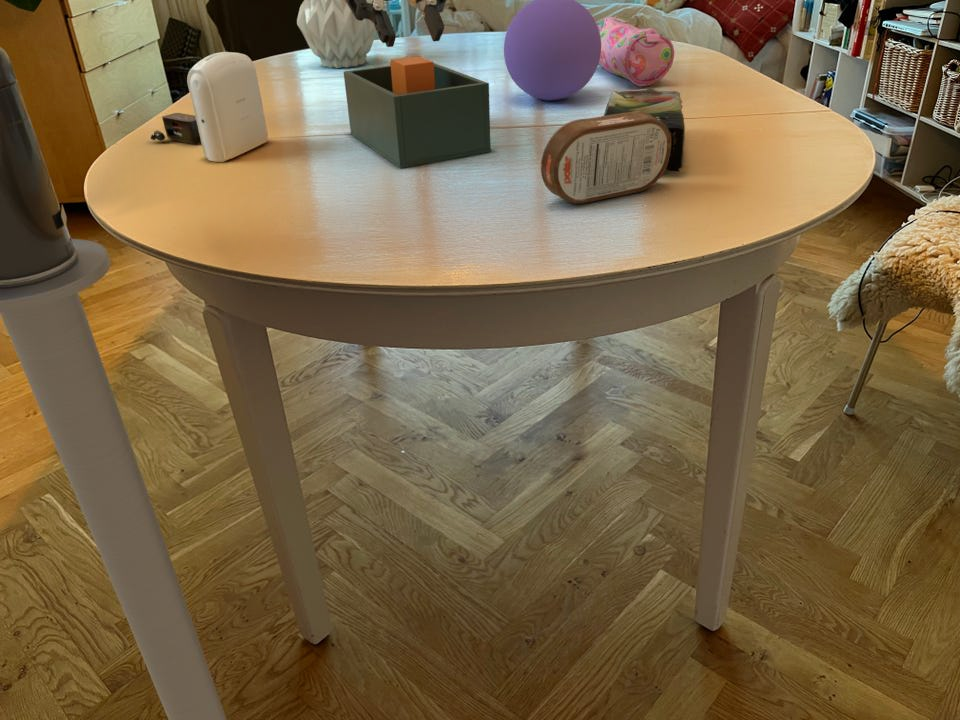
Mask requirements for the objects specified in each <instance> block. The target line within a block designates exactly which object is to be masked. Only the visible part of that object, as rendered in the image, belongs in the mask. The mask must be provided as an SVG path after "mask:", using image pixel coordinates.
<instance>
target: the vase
mask: <svg viewBox="0 0 960 720" xmlns="http://www.w3.org/2000/svg"><path fill="white" fill-rule="evenodd" d="M366 1H367V3H371V2H372V0H366ZM296 25H297V27H298V29H299V31H300V32H301V34H302V36H303V37H304V40H305V41H306V43H307V46H308V47H309V48H310V50H311V51H312V54H313V55H314V56H316V57H318V58H319V59H320V62H321V65H322V67H325V68H329V69H332V68H333V69H334V68H336V69H340V68H348V69H349V68H351V67H358V66H362V65H364V64H365V63H366V62H367V54H369V53H370V52H371V49H372V47H373V44H374V42H375V37H376V33H377V31H376V28H375V25H374V23H372V22H371V21H370V20H369V19H364V20H362V21H359V20H357V19H356V18H355V16H354V15H353V13H352V11H351V9H350V8H349V6H348V4H347V3H346V1H345V0H303V1H302V3H301V4H300V7H299V10H298V15H297V18H296Z"/></svg>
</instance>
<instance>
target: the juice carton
mask: <svg viewBox="0 0 960 720" xmlns="http://www.w3.org/2000/svg"><path fill="white" fill-rule="evenodd" d="M634 111H641V112H645V113H647V114H649V115H651V116H652V117H654V118H656V119H658V120H659V121H661V122H662V123H663V124H664V125H665V126H666V127H667V128H668V130H669V132H670V135H673V134H674V142H675V143H674V144H673V146H672V148H673V149H672V151H671V153H670V157H669V161H668V164H667V167H666V169H665V171H666V170H667V171H669V172H680V169H682V167H683V165H684V148H685V133H686V125H685V117H684V113H683V100H682V97H681V93H680V92H679V91H676V90H669V89H668V90H667V89H666V90H655V89H653V88H647V89H643V88H642V89H639V90H622V91H619V90H618V91H617V90H611V92H610V95H609V98H608V101H607V104H606V107H605V110H604V114H603V116H608V115H614V114H621V113H628V112H634Z"/></svg>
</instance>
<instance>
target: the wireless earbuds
mask: <svg viewBox="0 0 960 720" xmlns="http://www.w3.org/2000/svg"><path fill="white" fill-rule="evenodd" d="M161 119H162V123H163V126H164V130H165V134H164V132H162V131H160V130H154V131H153V134H151V135H150V140H152V141H156V140H157V141H159V142H163V141H165V139H166V137H167V139H169V140H171V141H174V142H175V141H176V142H180V143H181V142H182V143H185V144H191V145H197V144H202V143H201V138H200V134H199V130H198V125H197V121H196V117H195V114H194V115H193V114H188V113H181V112H173V113H170V114H169V113H168V114H166V115H163V116H161ZM165 135H166V136H165Z"/></svg>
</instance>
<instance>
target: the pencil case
mask: <svg viewBox="0 0 960 720" xmlns="http://www.w3.org/2000/svg"><path fill="white" fill-rule="evenodd" d="M597 26H598V29H599V32H600V37H601V55H600V60H599V64H598V66H599V67H601V68H603V69H604V70H605V71H607V72H609V73H610V74H613V75H615V76H618V77H622V78H624V79H626V80H628V81H629V82H631V83H632V84H634V85H636V86H638V87H648V86H650V85H653V84H655V83H657V82H659V81H661V80H662V79H663V78H664V77H665V76H666V75H667V74H668V73H669V71H670V70H671V68H672V66H673V63H674V60H675V59H674V58H675V47H674V44H673V42H672V41H671V39H670V38H669V37H668V36H666V35H664V34H663V33H661V32H660V31H657V30H655V29H654V28H653V27H648V28H639V27H636V26H634V25H632V24H629V22H628V21H627V20H625V19H622V18H620V16H618V15H615V16H609V17H604V18H603V20H602V21H600V22H599V23H597Z"/></svg>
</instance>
